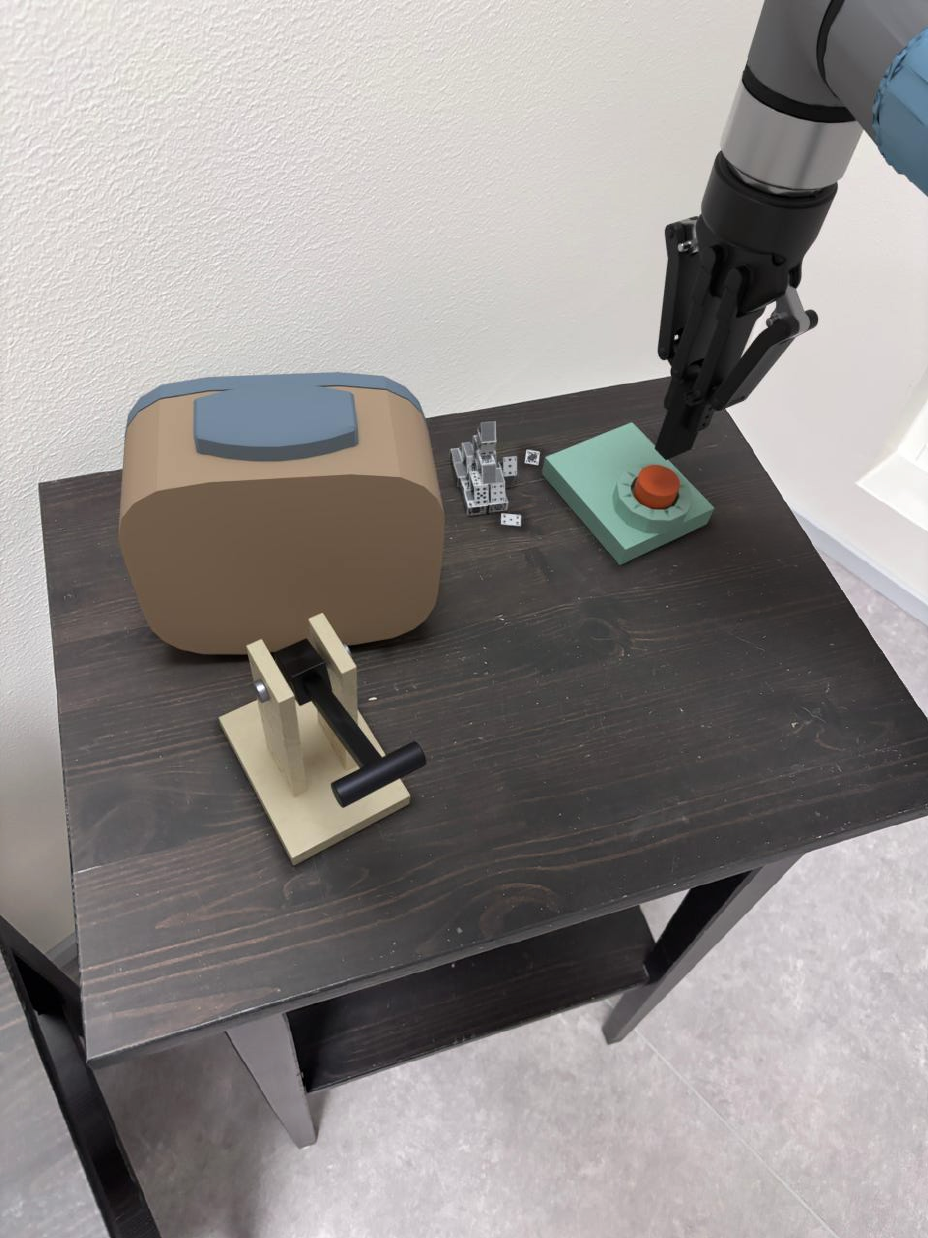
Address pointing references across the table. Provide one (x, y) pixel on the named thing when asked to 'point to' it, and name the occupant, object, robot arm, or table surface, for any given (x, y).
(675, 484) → the button
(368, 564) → the alarm clock
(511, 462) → the house of cards
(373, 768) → the lever
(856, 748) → the table surface
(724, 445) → the table surface
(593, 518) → the button box
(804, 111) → the robot arm
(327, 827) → the hinged lever switch
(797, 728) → the table surface
